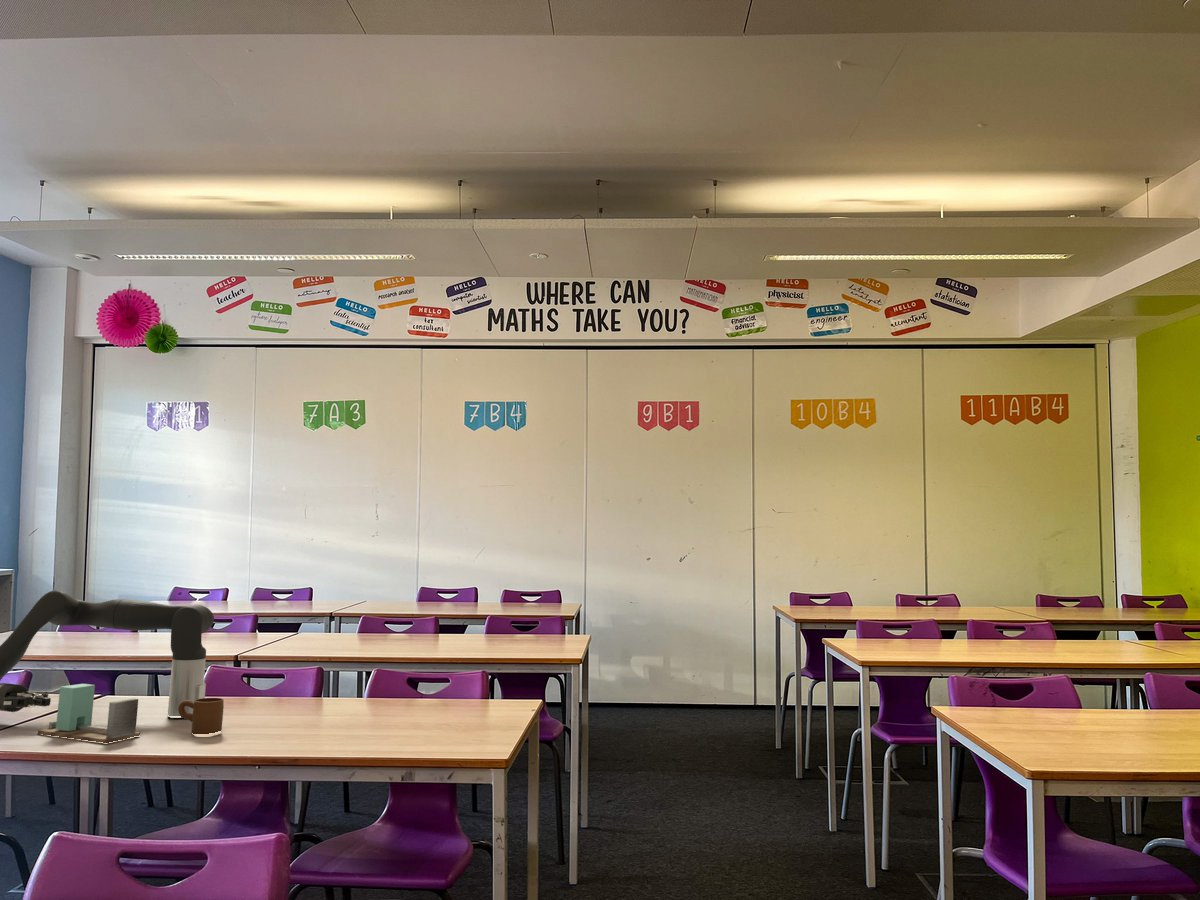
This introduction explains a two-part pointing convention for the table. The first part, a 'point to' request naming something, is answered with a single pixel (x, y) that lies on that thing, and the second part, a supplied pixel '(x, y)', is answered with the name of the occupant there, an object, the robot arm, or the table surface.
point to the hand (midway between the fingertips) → (47, 702)
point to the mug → (204, 714)
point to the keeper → (75, 706)
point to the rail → (114, 720)
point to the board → (83, 735)
